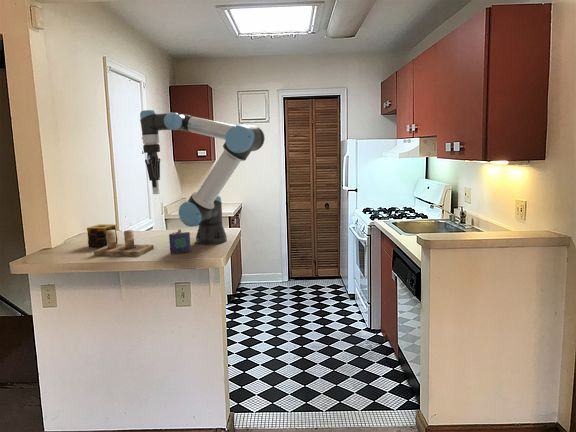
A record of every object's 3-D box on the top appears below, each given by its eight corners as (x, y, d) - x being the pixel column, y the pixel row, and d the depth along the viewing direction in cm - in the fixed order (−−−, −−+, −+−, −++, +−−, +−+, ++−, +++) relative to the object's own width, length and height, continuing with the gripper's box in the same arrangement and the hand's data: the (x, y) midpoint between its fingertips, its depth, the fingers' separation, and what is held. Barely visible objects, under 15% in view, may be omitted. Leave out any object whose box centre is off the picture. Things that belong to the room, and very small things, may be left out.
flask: (190, 250, 214) (188, 227, 212) (191, 252, 211) (190, 228, 210) (169, 253, 210) (168, 229, 209) (171, 254, 208) (169, 230, 206)
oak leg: (136, 251, 216) (134, 230, 214) (132, 253, 212) (130, 231, 210) (128, 251, 217) (126, 229, 215) (123, 253, 213) (121, 231, 211)
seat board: (153, 248, 220) (152, 228, 218) (139, 256, 206) (137, 234, 204) (110, 248, 224) (108, 227, 222) (93, 255, 210) (91, 233, 208)
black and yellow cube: (106, 248, 224) (104, 228, 222) (87, 248, 226) (85, 227, 224) (118, 243, 234) (116, 224, 232) (100, 243, 236) (98, 224, 234)
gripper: (149, 144, 227) (154, 192, 230) (137, 144, 214) (143, 195, 218) (164, 143, 226) (168, 192, 230) (153, 143, 213) (158, 195, 217)
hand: (156, 193), depth 224 cm, fingers closed
